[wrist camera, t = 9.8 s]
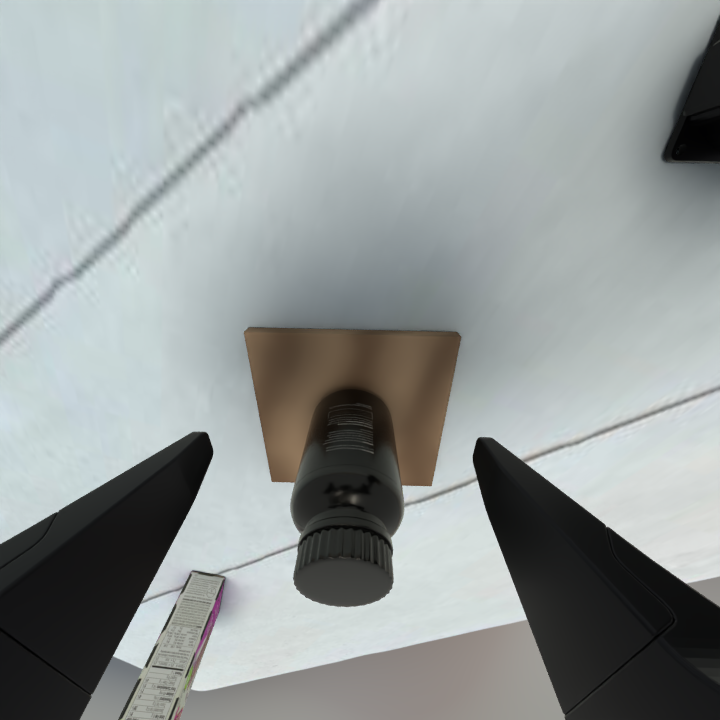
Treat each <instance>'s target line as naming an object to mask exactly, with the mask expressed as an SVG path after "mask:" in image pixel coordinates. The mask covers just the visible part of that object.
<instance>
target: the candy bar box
mask: <svg viewBox="0 0 720 720" xmlns="http://www.w3.org/2000/svg"><path fill="white" fill-rule="evenodd" d="M224 581H225V577H222V576H219V575H213V574H207V573H200V572H194V571H192V572H191V573H190V575H189V577H188V579H187V581H186V583H185V585H184V587H183V589H182V591H181V593H180V595H179V597H178V599H177V601H176V603H175V605H174V607H173V609H172V612H171V614H170V616H169V618H168V620H167V622H166V624H165V626H164V628H163V630H162V632H161V634H160V636H159V638H158V640H157V642H156V644H155V646H154V648H153V650H152V652H151V654H150V656H149V658H148V660H147V662H146V664H145V666H144V668H143V670H142V673H141V675H140V676H139V678H138V681H137V683H136V685H135V687H134V689H133V691H132V693H131V695H130V697H129V699H128V701H127V703H126V705H125V707H124V709H123V711H122V713H121V715H120V717H119V719H118V720H179V719H180V717H181V713H182V711H183V708H184V706H185V703H186V700H187V697H188V694H189V692H190V689H191V687H192V684H193V681H194V678H195V676H196V673H197V670H198V668H199V665H200V662H201V659H202V657H203V654H204V651H205V648H206V646H207V643H208V640H209V637H210V635H211V632H212V629H213V627H214V624H215V621H216V618H217V616H218V613H219V608H220V602H221V597H222V591H223V586H224Z"/></svg>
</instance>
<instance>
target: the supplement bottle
mask: <svg viewBox="0 0 720 720" xmlns="http://www.w3.org/2000/svg"><path fill="white" fill-rule="evenodd" d="M290 510H291V516H292V519H293V522H294V524H295V526H296V528H297V530H298V531H299V532H300V534H301V535H300V538H299V543H298V555H297V560H296V565H295V570H294V577H293V579H294V585H295V586H296V589H297V590H298V591H300V593H301V594H302V595H304V596H305V597H306V598H309V599H311V600H312V601H315V602H318V603H321V604H326V605H330V606H337V607H341V606H343V607H350V606H360V605H366V604H370V603H373V602H375V601H378V600H380V599H381V598H383V597H385V596H386V594H388V593H389V591H390V590H391V589H392V584H393V566H392V555H393V546H392V540H391V537H392V536H393V535H394V534H395V533H396V531H397V530H398V528H399V526H400V524H401V522H402V519H403V515H404V497H403V490H402V483H401V476H400V469H399V463H398V456H397V449H396V442H395V435H394V428H393V422H392V417H391V414H390V411H389V409H388V407H387V406H386V404H385V403H384V402H383V401H382V400H381V399H380V398H378V397H377V396H375V395H374V394H372V393H369V392H367V391H363V390H358V389H344V390H339V391H336V392H334V393H331V394H329V395H328V396H326V397H325V398H324V399H322V400H321V401H320V402H319V404H318V405H317V406H316V408H315V410H314V413H313V416H312V419H311V423H310V426H309V430H308V434H307V438H306V442H305V446H304V450H303V453H302V457H301V461H300V465H299V469H298V473H297V477H296V480H295V484H294V488H293V492H292V497H291V503H290Z"/></svg>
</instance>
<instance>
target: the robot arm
mask: <svg viewBox="0 0 720 720" xmlns="http://www.w3.org/2000/svg"><path fill="white" fill-rule="evenodd" d="M678 147H679V152H678V153H677V154H676V151H677V149H678ZM664 159H665V160H666V161H667V162H683V163H720V23H719V25H718V28H717V30H716V33H715V35H714V37H713V40H712V42H711V44H710V47H709V49H708V51H707V54H706V56H705V59H704V61H703V63H702V66H701V68H700V70H699V73H698V75H697V77H696V80H695V82H694V85H693V87H692V89H691V92H690V94H689V96H688V99H687V101H686V103H685V106H684V108H683V111H682V113H681V115H680V118H679V120H678V122H677V125H676V127H675V129H674V132H673V134H672V137H671V139H670V141H669V144H668V146H667V148H666V151H665V154H664ZM212 457H213V448H212V445H211V442H210V439H209V436H208V434H207V433H206V432H192V433H190V434H188V435H187V436H185V437H183V438H182V439H180V440H178V441H177V442H175V443H173V444H171V445H170V446H168V447H166V448H165V449H163V450H161V451H159V452H158V453H156V454H154V455H153V456H151V457H149V458H148V459H146V460H144V461H142V462H141V463H139V464H137V465H136V466H134V467H132V468H131V469H129V470H127V471H125V472H124V473H122V474H120V475H119V476H117V477H115V478H113V479H112V480H110V481H108V482H107V483H105V484H103V485H102V486H100V487H98V488H96V489H95V490H93V491H91V492H90V493H88V494H86V495H85V496H83V497H81V498H79V499H78V500H76V501H74V502H73V503H71V504H69V505H67V506H66V507H64V508H62V509H61V510H59V512H56V513H54V514H52V515H50V516H49V517H47V518H45V519H44V520H42V521H40V522H38V523H37V524H35V525H33V526H32V527H30V528H28V529H26V530H25V531H23V532H21V533H19V534H18V535H16V536H14V537H12V538H11V539H9V540H7V541H5V542H3V543H2V544H0V720H80V718H81V716H82V714H83V712H84V710H85V708H86V706H87V704H88V702H89V701H90V699H91V694H93V692H94V691H95V689H96V687H97V685H98V683H99V681H100V679H101V677H102V675H103V674H104V672H105V670H106V668H107V666H108V664H109V662H110V660H111V658H112V656H113V655H114V653H115V651H116V649H117V647H118V645H119V643H120V641H121V639H122V638H123V636H124V634H125V632H126V630H127V628H128V626H129V624H130V622H131V620H132V619H133V617H134V615H135V613H136V611H137V609H138V607H139V605H140V603H141V601H142V600H143V598H144V596H145V594H146V592H147V590H148V588H149V586H150V584H151V583H152V581H153V579H154V577H155V575H156V573H157V571H158V569H159V567H160V565H161V564H162V562H163V560H164V558H165V556H166V554H167V552H168V550H169V548H170V546H171V545H172V543H173V541H174V539H175V537H176V535H177V533H178V531H179V529H180V527H181V526H182V524H183V522H184V520H185V518H186V516H187V514H188V512H189V510H190V508H191V506H192V504H193V502H194V500H195V498H196V496H197V494H198V491H199V489H200V486H201V484H202V481H203V479H204V477H205V474H206V472H207V469H208V467H209V464H210V462H211V459H212ZM473 464H474V468H475V471H476V475H477V479H478V483H479V487H480V490H481V494H482V498H483V502H484V505H485V508H486V511H487V514H488V517H489V520H490V522H491V525H492V527H493V530H494V533H495V535H496V538H497V541H498V543H499V546H500V548H501V551H502V554H503V556H504V559H505V562H506V564H507V567H508V570H509V572H510V575H511V577H512V580H513V583H514V585H515V588H516V591H517V593H518V596H519V598H520V601H521V604H522V606H523V609H524V612H525V614H526V617H527V619H528V622H529V625H530V627H531V630H532V633H533V635H534V638H535V640H536V643H537V646H538V648H539V651H540V653H541V656H542V659H543V661H544V664H545V666H546V669H547V672H548V675H549V677H550V680H551V682H552V685H553V688H554V690H555V693H556V696H557V698H558V701H559V703H560V706H561V708H562V711H563V713H564V714H565V720H720V607H719V606H718V605H716V604H715V603H713V602H712V601H710V600H709V599H707V598H706V597H705V596H703V595H702V594H700V593H699V592H697V591H696V590H694V589H693V588H691V587H690V586H689V585H687V584H686V583H684V582H683V581H681V580H680V579H679V578H677V577H676V576H674V575H673V574H672V573H670V572H669V571H667V570H666V569H664V568H663V567H662V566H660V565H659V564H657V563H656V562H655V561H653V560H652V559H650V558H649V557H648V556H646V555H645V554H644V553H642V552H641V551H640V550H638V549H637V548H636V547H634V546H633V545H632V544H630V543H629V542H628V541H626V540H625V539H624V538H622V537H621V536H620V535H618V534H617V533H616V532H614V531H613V530H612V529H610V528H609V527H606V525H605V524H604V523H603V522H601V521H600V520H599V519H597V518H596V517H595V516H593V515H592V514H591V513H589V512H588V511H587V510H586V509H584V508H583V507H582V506H580V505H579V504H578V503H576V502H575V501H574V500H572V499H571V498H570V497H569V496H567V495H566V494H565V493H563V492H562V491H561V490H559V489H558V488H557V487H555V486H554V485H553V484H552V483H550V482H549V481H548V480H546V479H545V478H544V477H542V476H541V475H540V474H539V473H537V472H536V471H535V470H533V469H532V468H531V467H529V466H528V465H527V464H525V463H524V462H523V461H522V460H520V459H519V458H518V457H516V456H515V455H514V454H512V453H511V452H510V451H508V450H507V449H506V448H505V447H503V446H502V445H501V444H499V443H498V442H497V441H495V440H494V439H493V438H490V437H479V438H478V439H477V441H476V445H475V449H474V453H473Z"/></svg>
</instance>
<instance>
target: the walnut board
mask: <svg viewBox="0 0 720 720" xmlns="http://www.w3.org/2000/svg"><path fill="white" fill-rule="evenodd" d="M244 336H245V341H246V346H247V352H248V357H249V362H250V368H251V373H252V378H253V384H254V389H255V394H256V400H257V405H258V410H259V416H260V421H261V426H262V432H263V437H264V442H265V448H266V453H267V458H268V464H269V469H270V474H271V480H272V482H295V480H296V477H297V473H298V469H299V465H300V461H301V457H302V453H303V450H304V446H305V442H306V438H307V434H308V430H309V426H310V423H311V419H312V416H313V413H314V410H315V408H316V406H317V405H318V404H319V402H320V401H321V400H322V399H324V398H325V397H326V396H328V395H329V394H331V393H334V392H336V391H339V390H344V389H358V390H363V391H367V392H369V393H372V394H374V395H375V396H377V397H378V398H380V399H381V400H382V401H383V402H384V403H385V404H386V406H387V407H388V409H389V411H390V414H391V417H392V422H393V428H394V435H395V442H396V449H397V456H398V463H399V469H400V476H401V483H402V485H407V486H432V481H433V476H434V471H435V466H436V461H437V456H438V451H439V446H440V441H441V436H442V431H443V426H444V421H445V416H446V411H447V406H448V401H449V396H450V391H451V386H452V381H453V376H454V371H455V366H456V361H457V356H458V351H459V346H460V341H461V336H460V335H459V334H458V333H457V332H432V331H388V330H343V329H298V328H254V327H249V328H248V329H247V330H246V331H244Z"/></svg>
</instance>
